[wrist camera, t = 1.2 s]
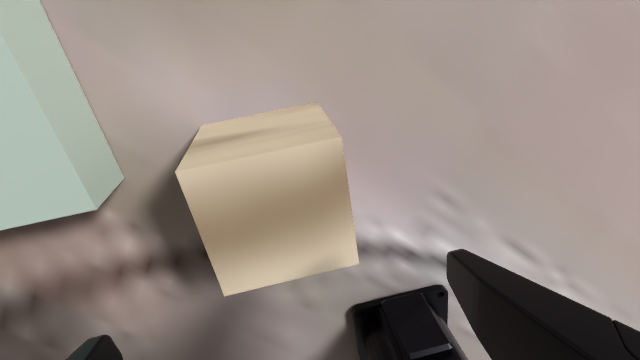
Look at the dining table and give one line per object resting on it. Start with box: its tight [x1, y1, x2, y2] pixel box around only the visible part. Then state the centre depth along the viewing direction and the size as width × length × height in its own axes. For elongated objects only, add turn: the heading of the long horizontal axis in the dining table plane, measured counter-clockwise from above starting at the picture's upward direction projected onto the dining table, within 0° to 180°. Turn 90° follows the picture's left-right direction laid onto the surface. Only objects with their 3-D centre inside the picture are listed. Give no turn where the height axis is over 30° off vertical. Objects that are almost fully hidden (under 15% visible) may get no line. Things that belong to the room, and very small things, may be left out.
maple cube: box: [175, 102, 359, 296], centre depth 14 cm, size 6×6×6 cm
